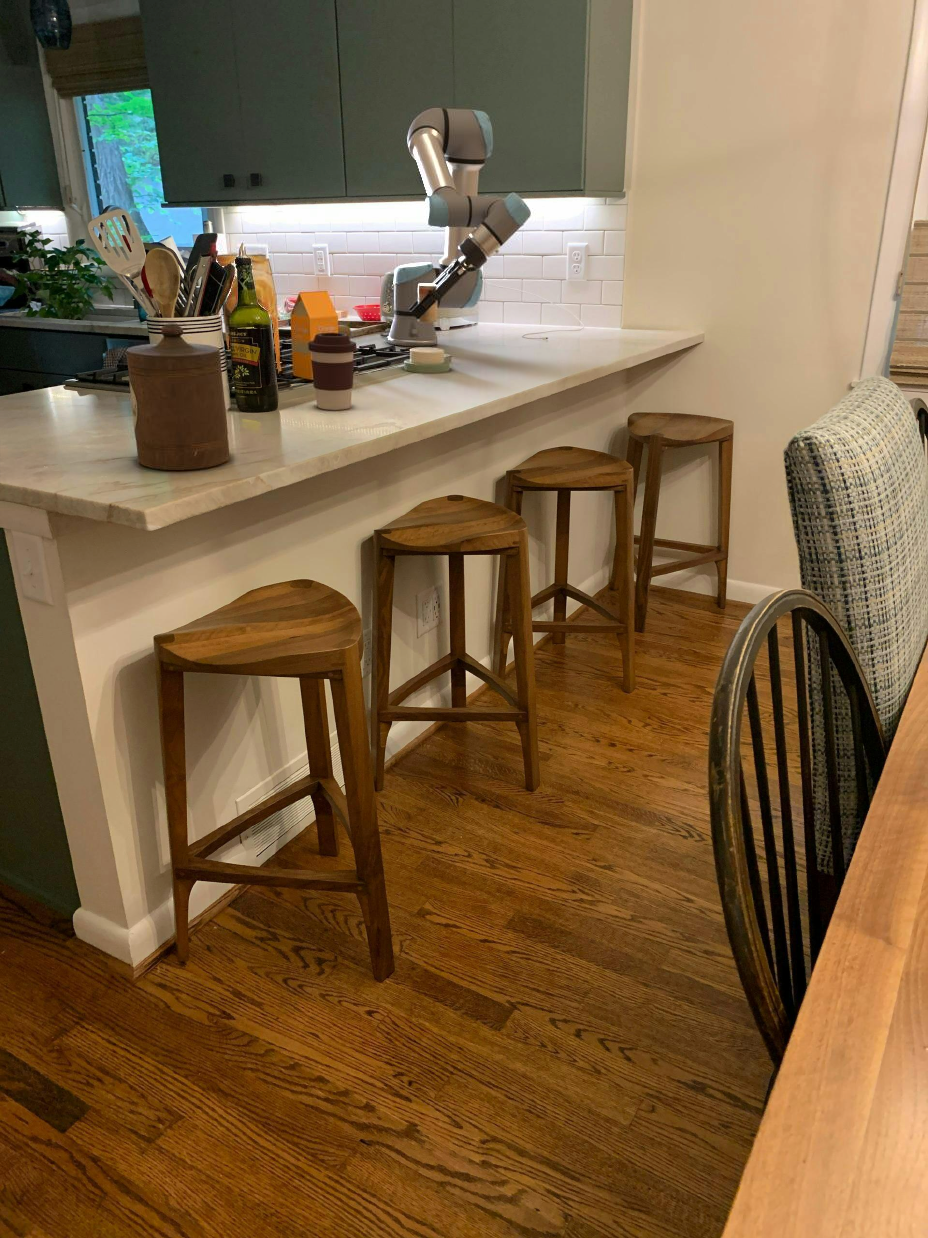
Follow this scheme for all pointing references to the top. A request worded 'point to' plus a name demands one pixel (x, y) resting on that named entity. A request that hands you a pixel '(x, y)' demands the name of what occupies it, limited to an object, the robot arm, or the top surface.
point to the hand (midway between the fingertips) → (413, 313)
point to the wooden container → (178, 403)
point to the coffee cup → (332, 369)
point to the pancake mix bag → (263, 292)
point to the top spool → (431, 313)
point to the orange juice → (310, 327)
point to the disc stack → (426, 361)
